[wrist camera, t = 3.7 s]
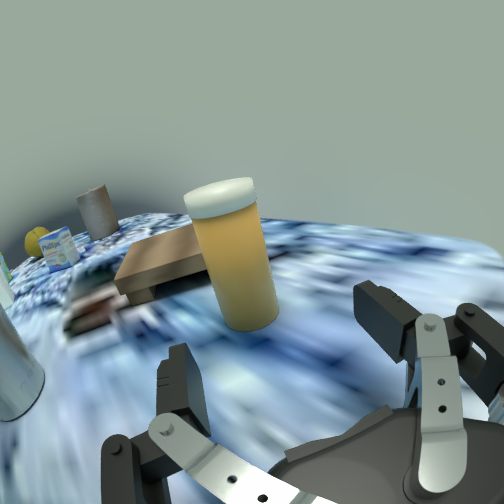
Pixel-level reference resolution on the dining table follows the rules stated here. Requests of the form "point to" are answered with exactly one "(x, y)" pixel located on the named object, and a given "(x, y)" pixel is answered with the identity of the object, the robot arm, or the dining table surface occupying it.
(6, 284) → the milk
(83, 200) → the pillar candle
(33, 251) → the fruit
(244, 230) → the beer glass
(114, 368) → the dining table surface
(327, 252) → the dining table surface
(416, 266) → the dining table surface
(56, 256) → the medicine box
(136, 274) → the walnut stand
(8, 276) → the snack box
